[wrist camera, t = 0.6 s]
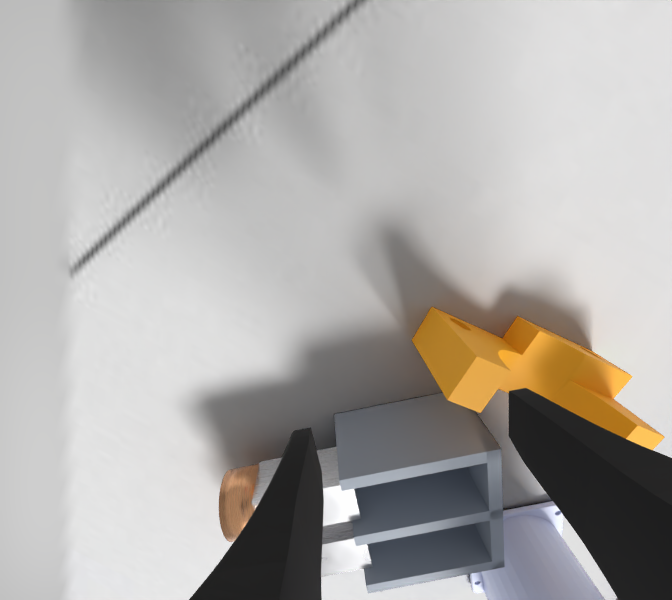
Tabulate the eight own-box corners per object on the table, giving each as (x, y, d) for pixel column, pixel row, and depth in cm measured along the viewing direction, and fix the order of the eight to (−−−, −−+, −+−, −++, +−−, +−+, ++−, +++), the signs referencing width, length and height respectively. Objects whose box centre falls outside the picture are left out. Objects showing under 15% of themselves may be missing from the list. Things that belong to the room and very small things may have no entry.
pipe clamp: (591, 350, 23) (689, 411, 17) (552, 398, 24) (631, 472, 18) (445, 281, 21) (498, 324, 15) (410, 339, 22) (447, 400, 16)
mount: (468, 492, 27) (504, 567, 22) (358, 513, 27) (368, 593, 22) (460, 389, 23) (501, 448, 18) (334, 414, 23) (339, 480, 18)
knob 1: (355, 476, 24) (363, 532, 20) (246, 498, 24) (233, 557, 20) (345, 433, 22) (351, 483, 19) (230, 456, 23) (212, 511, 19)
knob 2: (366, 521, 25) (374, 580, 22) (263, 541, 26) (254, 603, 22) (357, 482, 24) (365, 539, 20) (249, 504, 24) (236, 563, 20)
